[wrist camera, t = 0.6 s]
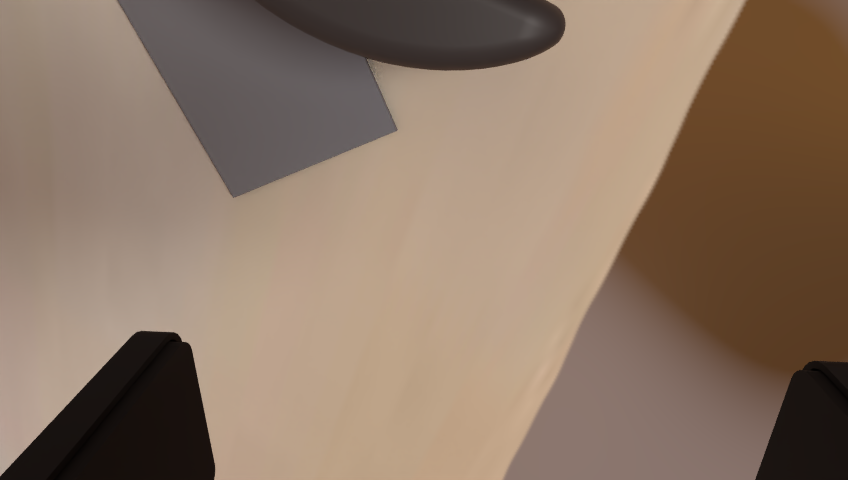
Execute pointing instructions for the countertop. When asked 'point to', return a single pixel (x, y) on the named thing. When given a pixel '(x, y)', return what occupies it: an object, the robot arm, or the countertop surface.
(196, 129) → the mat
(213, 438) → the countertop surface
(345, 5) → the leaning round-cornered charcoal block
